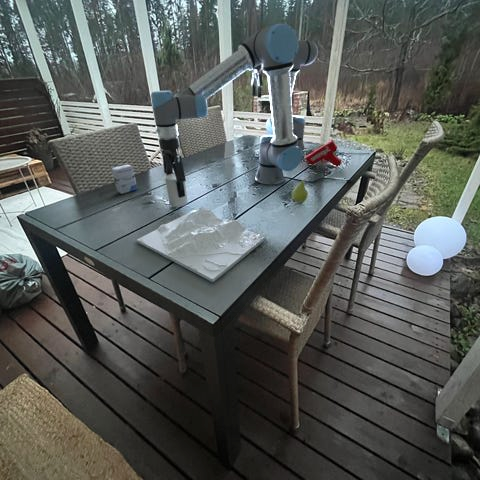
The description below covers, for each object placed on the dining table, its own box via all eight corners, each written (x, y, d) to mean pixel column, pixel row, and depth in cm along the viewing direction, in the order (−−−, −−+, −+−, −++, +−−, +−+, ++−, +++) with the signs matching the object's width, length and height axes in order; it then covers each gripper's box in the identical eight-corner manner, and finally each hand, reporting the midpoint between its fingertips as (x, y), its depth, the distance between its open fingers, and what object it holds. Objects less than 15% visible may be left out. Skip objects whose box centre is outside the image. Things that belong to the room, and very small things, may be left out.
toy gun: (345, 161, 161) (332, 139, 157) (345, 163, 157) (332, 140, 153) (317, 176, 171) (305, 156, 167) (317, 178, 167) (304, 158, 163)
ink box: (133, 186, 138) (127, 163, 132) (137, 189, 135) (132, 165, 129) (116, 191, 133) (110, 167, 127) (121, 194, 130) (114, 170, 124)
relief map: (212, 282, 77) (211, 268, 74) (137, 242, 94) (134, 229, 91) (264, 240, 95) (265, 227, 92) (193, 213, 113) (192, 201, 110)
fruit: (288, 200, 123) (290, 174, 116) (302, 197, 125) (305, 172, 119) (296, 206, 118) (299, 179, 111) (310, 203, 120) (314, 177, 114)
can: (167, 202, 118) (162, 175, 112) (183, 197, 122) (179, 171, 115) (173, 208, 113) (169, 181, 106) (190, 203, 116) (187, 176, 110)
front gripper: (148, 134, 108) (159, 188, 120) (170, 144, 94) (180, 204, 106) (166, 131, 111) (175, 184, 124) (190, 140, 97) (197, 199, 110)
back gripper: (247, 63, 200) (246, 95, 212) (257, 62, 180) (256, 98, 191) (256, 63, 202) (256, 95, 213) (268, 62, 181) (266, 98, 193)
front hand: (177, 193), depth 115 cm, fingers closed on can, 8 cm apart
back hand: (256, 96), depth 202 cm, fingers open, 13 cm apart
